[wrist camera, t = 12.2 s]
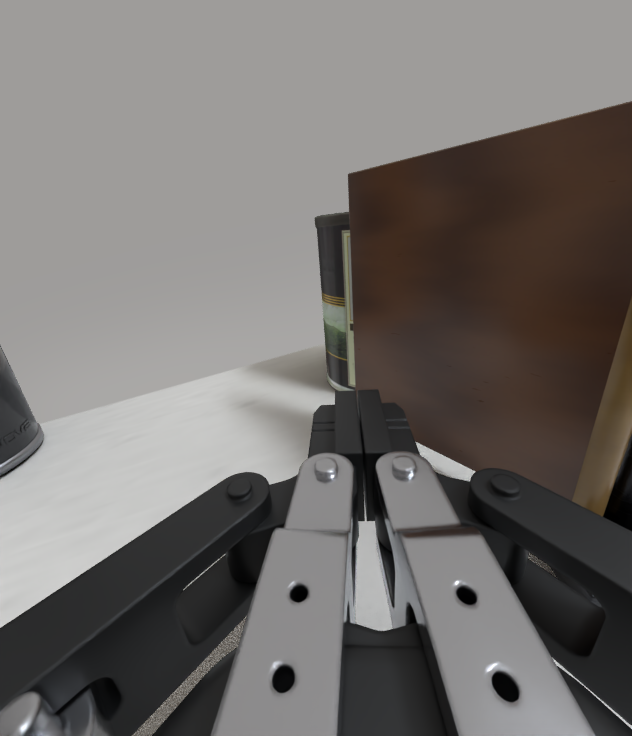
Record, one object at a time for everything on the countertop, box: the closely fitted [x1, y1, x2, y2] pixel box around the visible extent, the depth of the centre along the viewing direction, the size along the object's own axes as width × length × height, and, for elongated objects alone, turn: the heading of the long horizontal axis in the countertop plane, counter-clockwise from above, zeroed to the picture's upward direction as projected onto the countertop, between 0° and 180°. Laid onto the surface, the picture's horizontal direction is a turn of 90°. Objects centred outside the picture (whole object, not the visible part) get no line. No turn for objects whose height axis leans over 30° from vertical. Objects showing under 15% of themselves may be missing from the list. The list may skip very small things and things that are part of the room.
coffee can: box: [315, 212, 355, 391], centre depth 28 cm, size 10×10×14 cm
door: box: [348, 101, 632, 517], centre depth 15 cm, size 13×1×14 cm, turn 39°
